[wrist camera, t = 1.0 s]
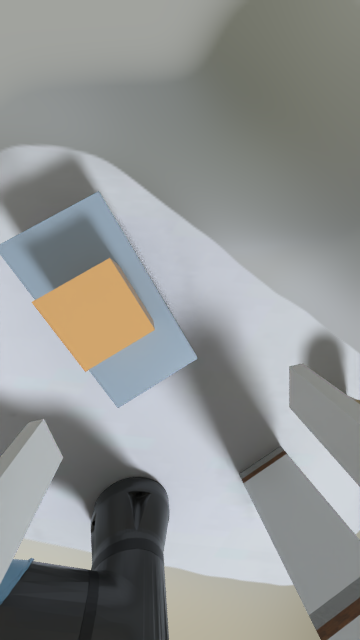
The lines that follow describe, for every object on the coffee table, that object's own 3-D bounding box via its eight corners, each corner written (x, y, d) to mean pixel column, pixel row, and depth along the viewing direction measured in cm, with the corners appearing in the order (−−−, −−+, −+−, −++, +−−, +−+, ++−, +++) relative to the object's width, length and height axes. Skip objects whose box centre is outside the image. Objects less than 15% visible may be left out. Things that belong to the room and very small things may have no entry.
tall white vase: (257, 503, 46) (585, 1139, 12) (239, 474, 43) (580, 1165, 9) (296, 476, 46) (713, 1000, 12) (280, 446, 44) (741, 990, 10)
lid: (119, 399, 28) (109, 442, 21) (7, 250, 23) (-64, 231, 15) (194, 353, 29) (211, 377, 21) (102, 199, 24) (81, 155, 16)
